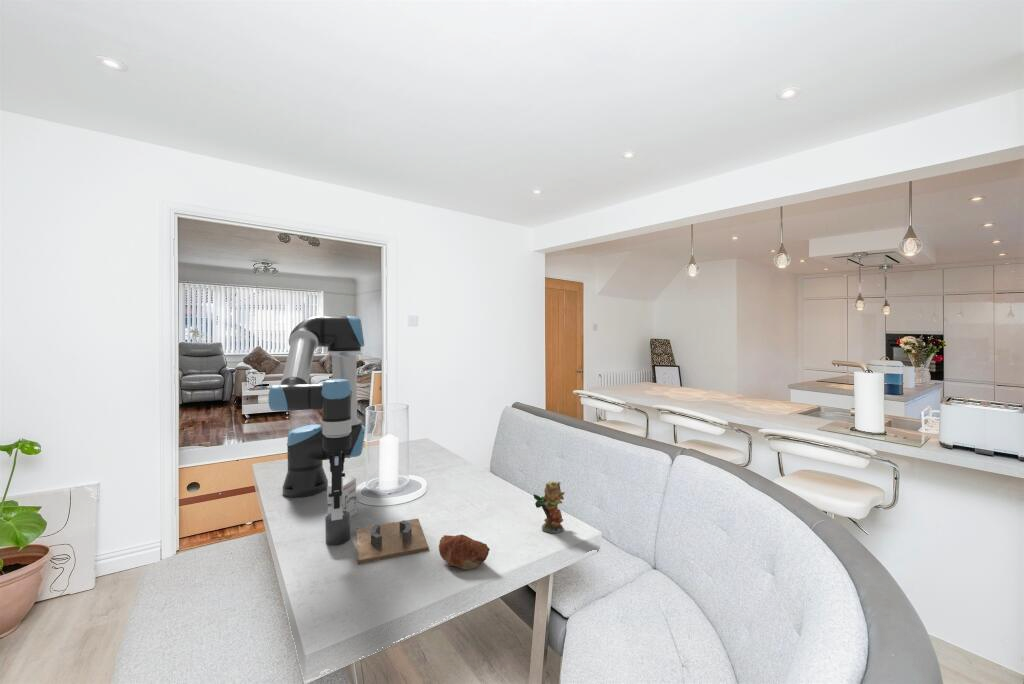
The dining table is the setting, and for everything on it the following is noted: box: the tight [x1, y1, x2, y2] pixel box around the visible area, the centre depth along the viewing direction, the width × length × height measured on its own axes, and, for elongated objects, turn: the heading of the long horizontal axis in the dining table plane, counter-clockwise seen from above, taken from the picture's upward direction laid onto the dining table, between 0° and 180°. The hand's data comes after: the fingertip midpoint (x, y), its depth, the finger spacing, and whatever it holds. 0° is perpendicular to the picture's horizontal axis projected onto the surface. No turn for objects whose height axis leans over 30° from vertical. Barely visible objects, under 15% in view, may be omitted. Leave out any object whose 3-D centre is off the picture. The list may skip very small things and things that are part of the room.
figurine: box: [533, 480, 566, 534], centre depth 124 cm, size 9×8×15 cm
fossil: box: [438, 534, 491, 570], centre depth 106 cm, size 13×8×10 cm
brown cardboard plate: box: [356, 518, 430, 565], centre depth 117 cm, size 18×18×4 cm
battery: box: [324, 511, 351, 547], centre depth 117 cm, size 6×6×7 cm
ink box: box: [326, 476, 357, 519], centre depth 131 cm, size 9×5×12 cm, turn 168°
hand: (337, 509), depth 117 cm, fingers open, 13 cm apart
